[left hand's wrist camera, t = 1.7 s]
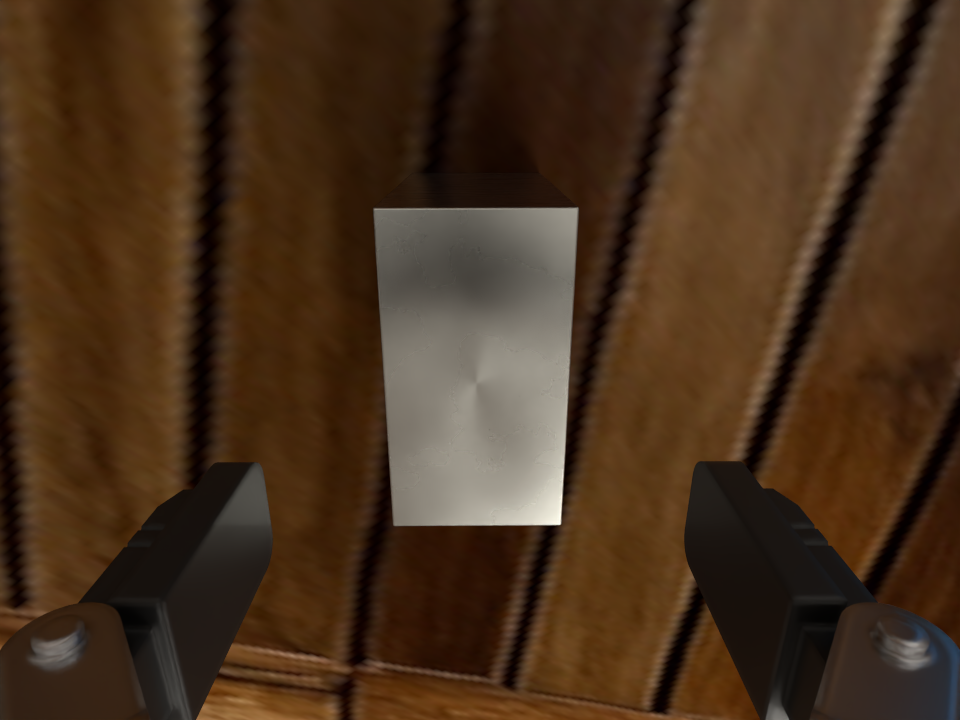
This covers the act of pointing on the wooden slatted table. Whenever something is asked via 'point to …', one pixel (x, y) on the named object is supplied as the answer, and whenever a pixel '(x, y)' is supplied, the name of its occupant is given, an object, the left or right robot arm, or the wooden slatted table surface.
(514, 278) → the block
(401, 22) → the wooden slatted table surface
